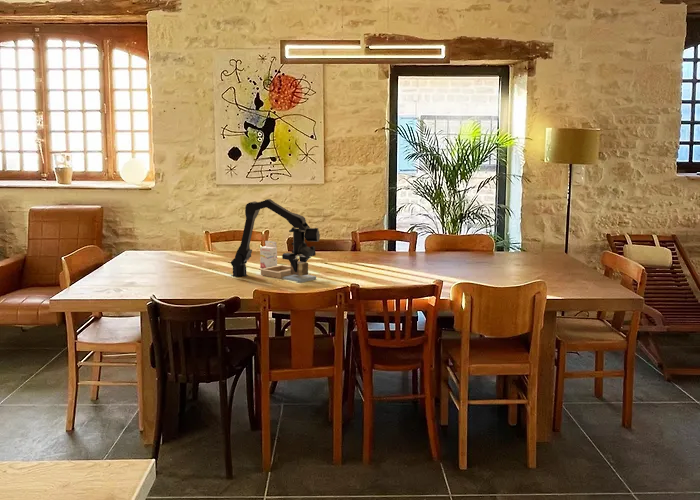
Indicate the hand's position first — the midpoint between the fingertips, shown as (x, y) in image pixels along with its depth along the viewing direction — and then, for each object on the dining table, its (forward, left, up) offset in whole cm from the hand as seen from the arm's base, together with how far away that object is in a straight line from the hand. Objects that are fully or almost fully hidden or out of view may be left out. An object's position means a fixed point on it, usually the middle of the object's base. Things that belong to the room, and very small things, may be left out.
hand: (299, 271), depth 380 cm
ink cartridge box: (+11, +35, -5) cm, 37 cm away
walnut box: (0, 0, -2) cm, 2 cm away
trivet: (0, 0, -4) cm, 4 cm away
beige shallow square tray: (+1, +15, -4) cm, 16 cm away
